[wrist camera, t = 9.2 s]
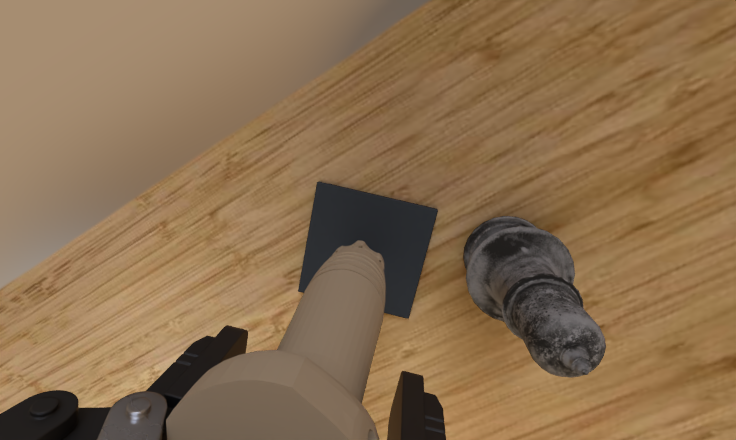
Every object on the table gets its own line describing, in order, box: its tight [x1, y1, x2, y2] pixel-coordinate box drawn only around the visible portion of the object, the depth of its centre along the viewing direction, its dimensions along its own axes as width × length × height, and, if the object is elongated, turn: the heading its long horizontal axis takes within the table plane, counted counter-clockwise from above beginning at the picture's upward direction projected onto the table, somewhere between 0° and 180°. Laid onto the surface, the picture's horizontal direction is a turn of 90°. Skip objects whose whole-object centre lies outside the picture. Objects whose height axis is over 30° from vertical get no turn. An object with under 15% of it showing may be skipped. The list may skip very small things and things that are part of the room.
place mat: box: [298, 182, 438, 319], centre depth 25 cm, size 8×8×1 cm
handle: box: [166, 241, 386, 440], centre depth 16 cm, size 5×6×15 cm
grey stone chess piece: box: [463, 216, 606, 377], centre depth 19 cm, size 6×6×12 cm
